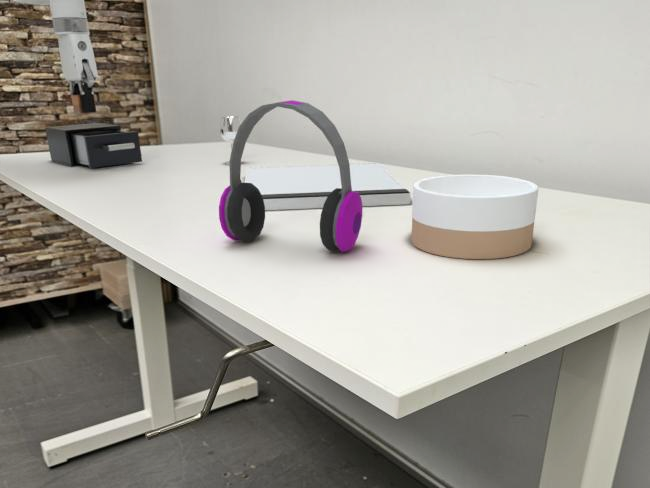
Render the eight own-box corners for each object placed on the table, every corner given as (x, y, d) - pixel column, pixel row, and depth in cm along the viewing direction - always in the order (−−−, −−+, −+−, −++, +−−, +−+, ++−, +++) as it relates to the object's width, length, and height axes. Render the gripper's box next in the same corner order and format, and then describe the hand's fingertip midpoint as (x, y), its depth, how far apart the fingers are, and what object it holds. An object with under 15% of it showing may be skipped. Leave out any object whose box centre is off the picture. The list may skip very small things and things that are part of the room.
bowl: (533, 263, 79) (541, 199, 75) (402, 255, 83) (404, 194, 80) (530, 230, 94) (536, 175, 91) (419, 225, 98) (421, 172, 95)
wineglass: (220, 163, 164) (216, 117, 159) (241, 161, 166) (237, 115, 161) (226, 166, 159) (222, 118, 154) (247, 164, 161) (244, 117, 156)
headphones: (215, 247, 89) (201, 103, 81) (246, 232, 97) (236, 99, 89) (346, 261, 81) (344, 103, 73) (368, 244, 89) (369, 99, 81)
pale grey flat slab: (410, 191, 111) (241, 198, 109) (410, 204, 112) (242, 211, 110) (378, 162, 143) (246, 167, 141) (378, 173, 144) (247, 178, 142)
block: (80, 113, 144) (77, 95, 142) (74, 112, 146) (70, 95, 145) (96, 112, 146) (93, 94, 145) (90, 111, 149) (87, 94, 147)
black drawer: (150, 163, 162) (146, 132, 159) (98, 169, 153) (93, 137, 150) (120, 157, 174) (115, 128, 171) (70, 163, 165) (64, 133, 162)
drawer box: (125, 160, 173) (120, 125, 170) (71, 167, 164) (64, 130, 160) (103, 156, 183) (98, 122, 179) (51, 162, 174) (44, 127, 170)
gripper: (102, 26, 136) (114, 112, 143) (73, 30, 147) (86, 109, 154) (68, 25, 131) (83, 114, 138) (41, 29, 142) (57, 111, 150)
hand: (85, 111), depth 146 cm, fingers closed on block, 4 cm apart
